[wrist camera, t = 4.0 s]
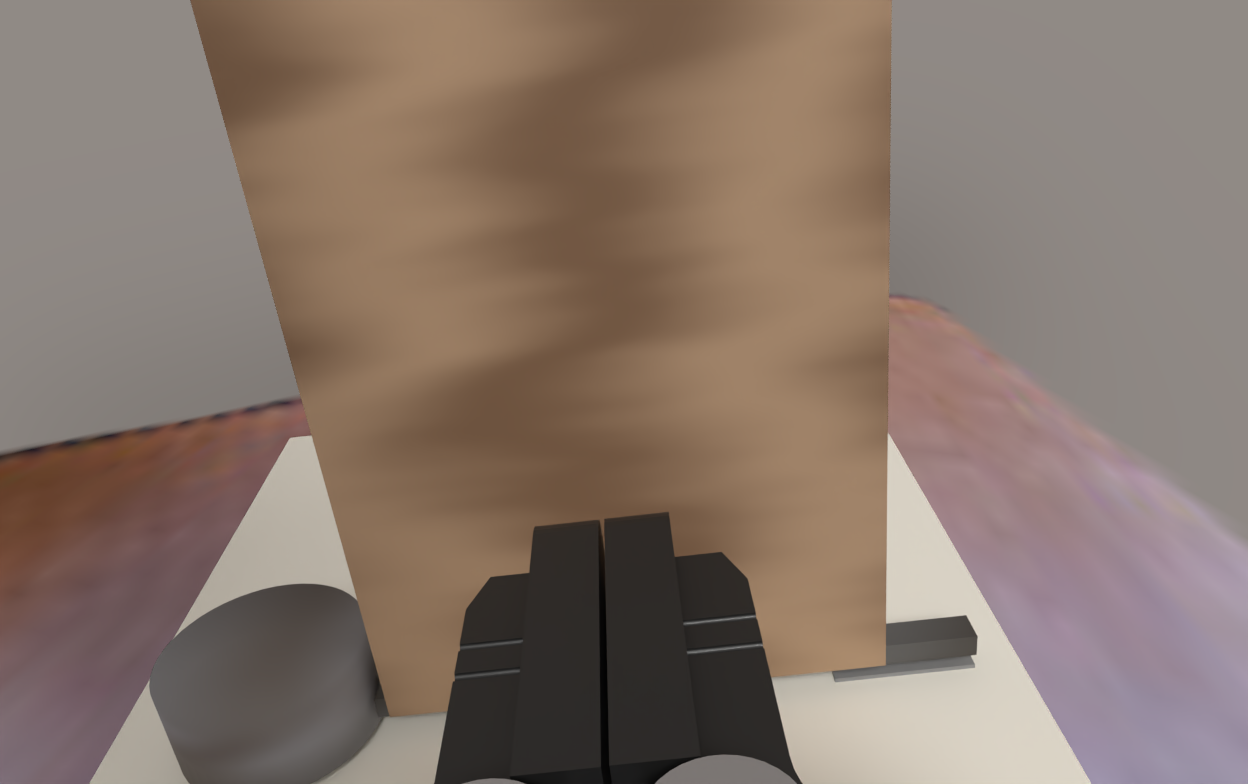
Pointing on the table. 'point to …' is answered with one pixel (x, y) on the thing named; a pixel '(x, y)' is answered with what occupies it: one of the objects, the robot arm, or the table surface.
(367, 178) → the brown flat streaked slab
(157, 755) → the plate
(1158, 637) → the table surface
